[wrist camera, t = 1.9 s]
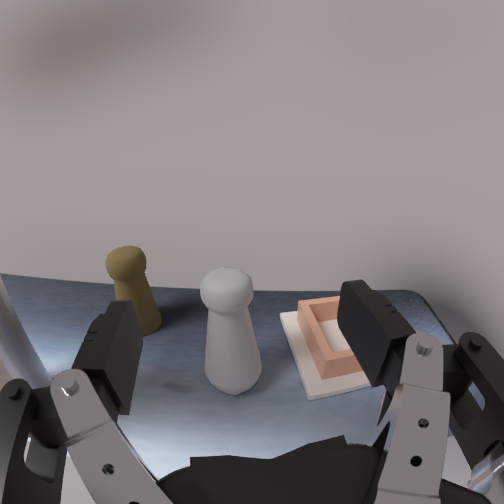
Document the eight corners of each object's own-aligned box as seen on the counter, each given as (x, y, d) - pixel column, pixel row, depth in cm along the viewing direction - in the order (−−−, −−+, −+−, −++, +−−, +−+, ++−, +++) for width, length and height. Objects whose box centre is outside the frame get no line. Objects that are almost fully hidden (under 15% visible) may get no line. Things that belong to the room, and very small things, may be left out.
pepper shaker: (140, 305, 40) (125, 237, 36) (170, 317, 38) (157, 244, 33) (112, 327, 35) (90, 255, 31) (142, 343, 33) (120, 266, 28)
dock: (308, 400, 25) (313, 377, 24) (279, 317, 38) (281, 294, 36) (419, 370, 27) (430, 347, 25) (370, 305, 40) (376, 283, 38)
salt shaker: (264, 363, 30) (266, 260, 25) (258, 404, 25) (259, 298, 20) (213, 358, 31) (201, 257, 26) (201, 397, 26) (179, 292, 20)
